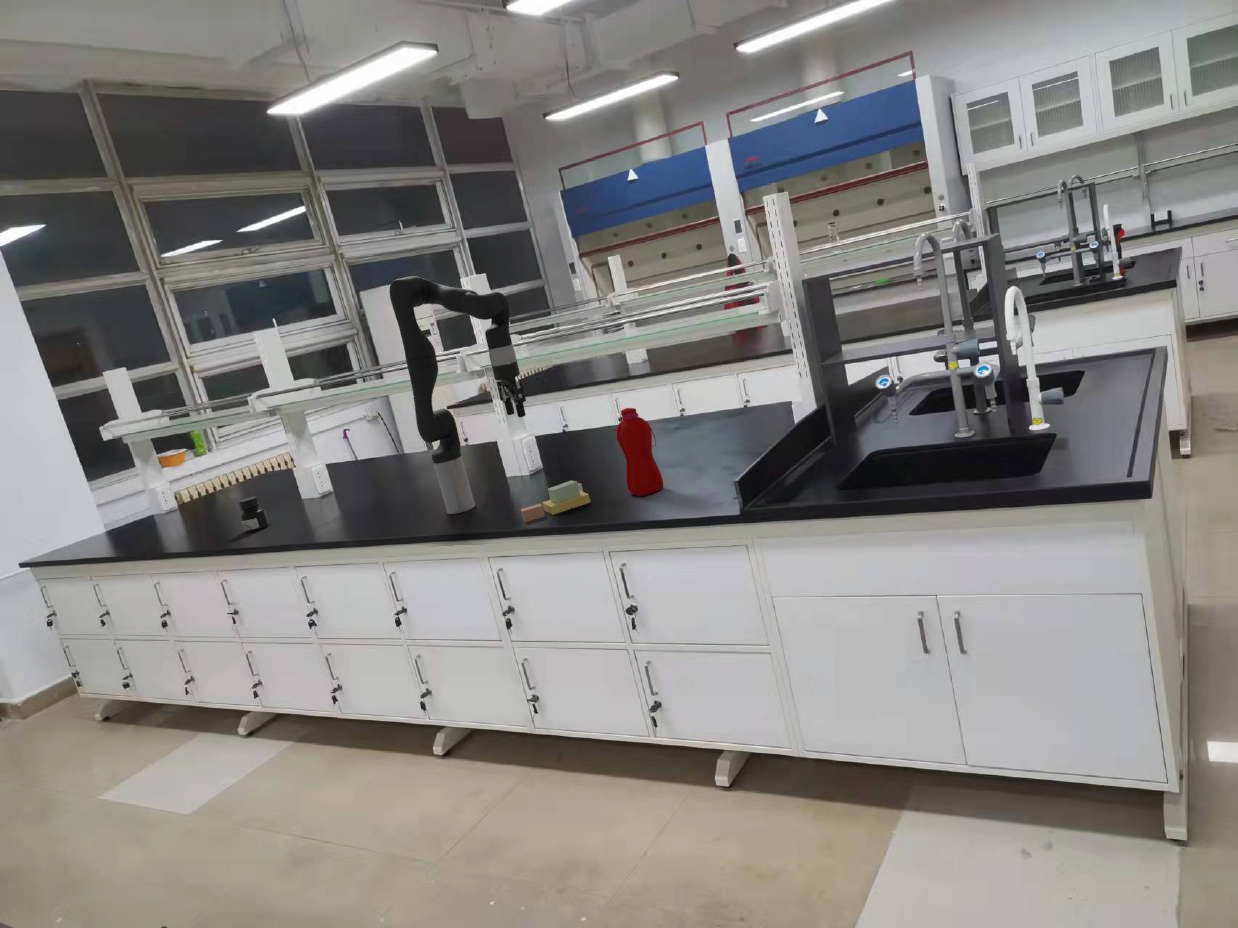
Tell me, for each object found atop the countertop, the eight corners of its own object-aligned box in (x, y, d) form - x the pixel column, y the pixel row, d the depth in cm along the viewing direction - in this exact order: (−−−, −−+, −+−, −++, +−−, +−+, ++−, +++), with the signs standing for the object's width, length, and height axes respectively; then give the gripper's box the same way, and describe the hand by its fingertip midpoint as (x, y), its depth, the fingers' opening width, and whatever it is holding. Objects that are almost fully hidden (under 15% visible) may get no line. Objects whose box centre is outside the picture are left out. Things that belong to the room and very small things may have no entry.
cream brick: (564, 496, 267) (561, 486, 267) (571, 493, 269) (568, 483, 269) (576, 497, 263) (574, 486, 262) (583, 494, 265) (581, 483, 264)
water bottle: (673, 486, 248) (654, 403, 243) (640, 498, 244) (621, 413, 239) (657, 483, 257) (639, 401, 251) (626, 494, 252) (606, 412, 247)
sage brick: (550, 501, 254) (547, 488, 253) (574, 493, 258) (571, 480, 257) (556, 503, 251) (553, 490, 250) (580, 494, 254) (577, 481, 254)
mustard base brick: (544, 511, 257) (542, 502, 256) (581, 499, 261) (579, 490, 260) (553, 516, 249) (550, 506, 249) (590, 503, 253) (588, 494, 253)
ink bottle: (240, 533, 327) (230, 503, 324) (260, 525, 334) (250, 495, 331) (254, 533, 321) (244, 502, 318) (275, 524, 328) (265, 494, 325)
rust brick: (524, 522, 248) (521, 511, 247) (523, 520, 251) (520, 509, 250) (545, 517, 249) (542, 505, 249) (543, 514, 252) (540, 503, 251)
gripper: (483, 364, 256) (496, 417, 260) (501, 365, 244) (514, 420, 248) (506, 358, 259) (518, 410, 263) (525, 359, 247) (537, 414, 251)
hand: (516, 415), depth 256 cm, fingers open, 8 cm apart
